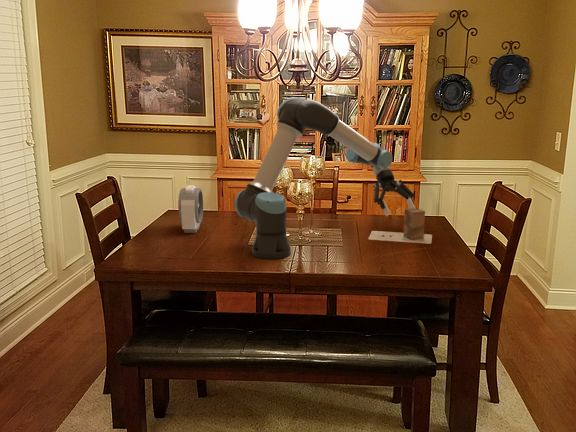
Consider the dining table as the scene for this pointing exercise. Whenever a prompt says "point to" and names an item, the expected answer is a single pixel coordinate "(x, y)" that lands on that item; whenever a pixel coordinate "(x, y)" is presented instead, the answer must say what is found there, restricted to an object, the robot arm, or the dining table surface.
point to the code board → (397, 237)
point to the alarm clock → (190, 208)
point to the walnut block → (414, 223)
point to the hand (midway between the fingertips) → (401, 213)
